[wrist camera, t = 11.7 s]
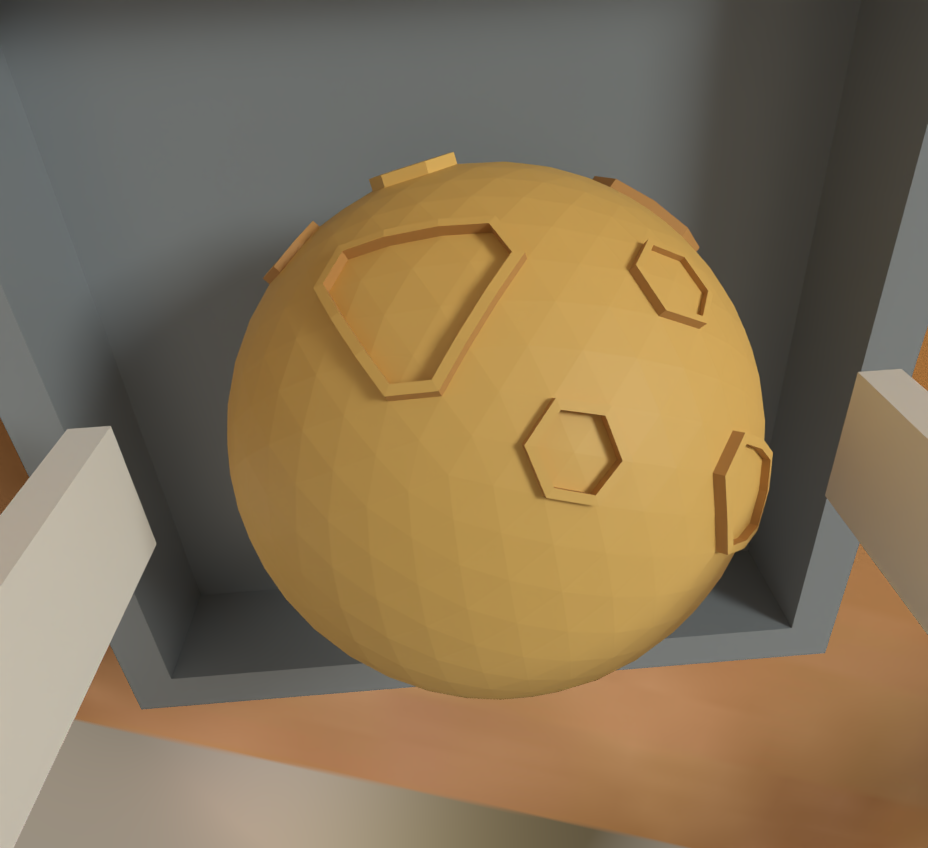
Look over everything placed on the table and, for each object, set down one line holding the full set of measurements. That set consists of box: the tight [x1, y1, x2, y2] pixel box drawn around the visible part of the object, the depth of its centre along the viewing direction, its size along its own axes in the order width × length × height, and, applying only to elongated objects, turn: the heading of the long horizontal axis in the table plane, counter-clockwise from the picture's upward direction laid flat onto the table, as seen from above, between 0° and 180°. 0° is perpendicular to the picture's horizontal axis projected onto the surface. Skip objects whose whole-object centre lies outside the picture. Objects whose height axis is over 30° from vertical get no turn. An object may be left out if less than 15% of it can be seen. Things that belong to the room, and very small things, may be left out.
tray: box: [0, 0, 928, 709], centre depth 17 cm, size 20×20×4 cm
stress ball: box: [227, 152, 773, 700], centre depth 14 cm, size 10×10×10 cm
